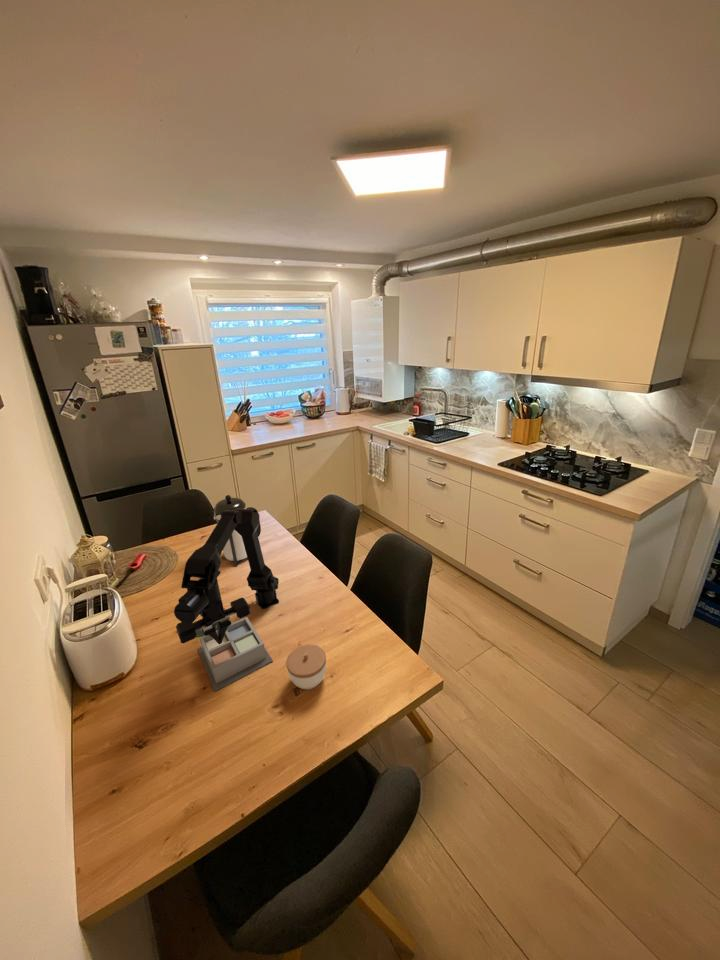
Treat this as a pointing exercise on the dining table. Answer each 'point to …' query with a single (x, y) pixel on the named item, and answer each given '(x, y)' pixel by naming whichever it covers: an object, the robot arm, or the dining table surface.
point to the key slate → (238, 631)
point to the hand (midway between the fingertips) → (219, 643)
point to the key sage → (246, 643)
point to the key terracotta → (222, 656)
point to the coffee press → (235, 544)
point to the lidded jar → (306, 666)
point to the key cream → (214, 643)
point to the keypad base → (237, 664)
